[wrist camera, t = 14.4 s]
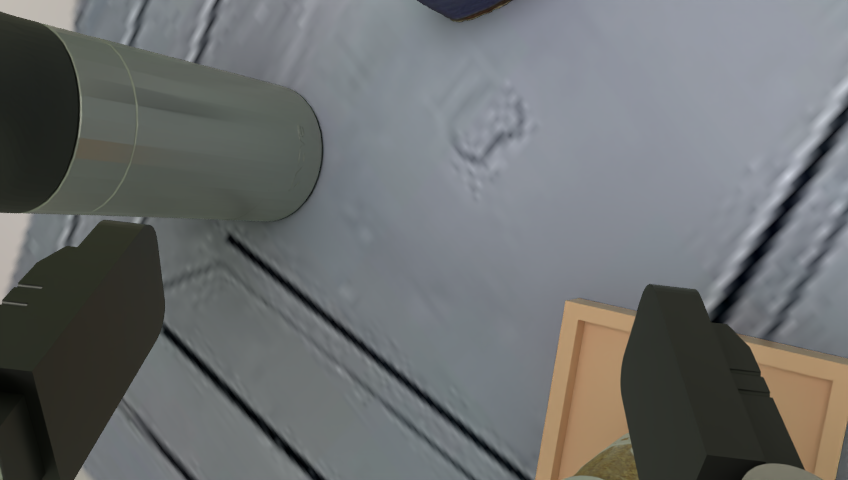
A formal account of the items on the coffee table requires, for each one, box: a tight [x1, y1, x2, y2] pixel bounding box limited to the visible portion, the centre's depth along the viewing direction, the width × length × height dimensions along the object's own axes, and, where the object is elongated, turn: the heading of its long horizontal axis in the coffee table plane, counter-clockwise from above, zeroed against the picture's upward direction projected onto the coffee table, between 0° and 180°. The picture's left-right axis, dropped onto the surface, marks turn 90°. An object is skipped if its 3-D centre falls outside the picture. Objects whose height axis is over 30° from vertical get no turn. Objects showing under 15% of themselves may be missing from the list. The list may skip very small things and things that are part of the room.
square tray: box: [535, 298, 848, 480], centre depth 36 cm, size 13×13×2 cm
